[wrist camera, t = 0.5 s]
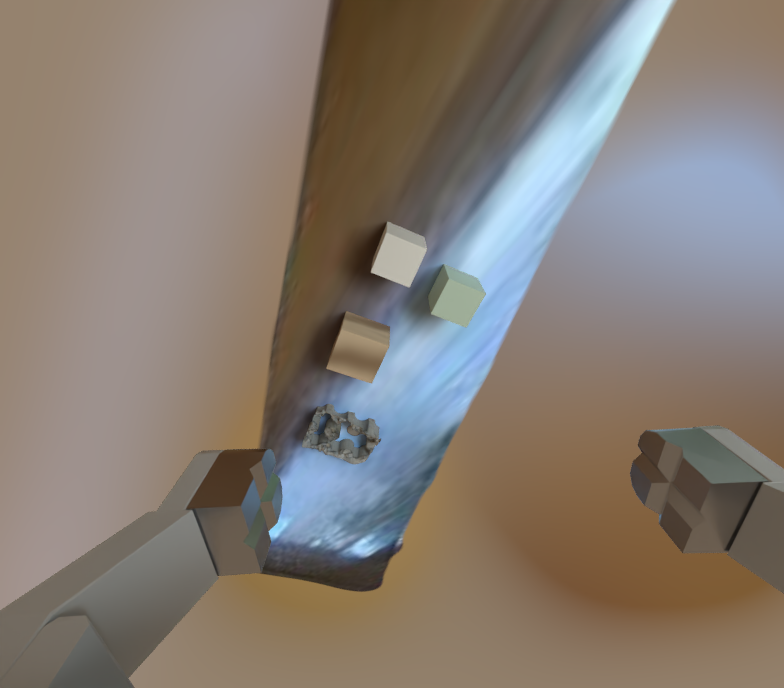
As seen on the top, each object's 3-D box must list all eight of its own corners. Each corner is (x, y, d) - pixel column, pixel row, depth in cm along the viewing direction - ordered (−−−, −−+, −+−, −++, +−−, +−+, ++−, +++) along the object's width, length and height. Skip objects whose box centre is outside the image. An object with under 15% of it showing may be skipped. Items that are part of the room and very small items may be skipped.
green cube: (443, 263, 43) (449, 278, 39) (477, 277, 44) (485, 293, 40) (427, 296, 45) (430, 313, 41) (459, 308, 46) (466, 327, 42)
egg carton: (385, 421, 56) (384, 441, 53) (364, 451, 60) (362, 472, 56) (321, 396, 54) (316, 415, 50) (303, 429, 57) (297, 449, 54)
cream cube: (387, 221, 41) (386, 232, 36) (424, 236, 41) (427, 249, 37) (373, 257, 43) (370, 272, 38) (408, 271, 44) (409, 287, 39)
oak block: (346, 310, 46) (341, 329, 42) (389, 326, 47) (389, 346, 43) (332, 347, 49) (326, 368, 45) (373, 361, 50) (371, 383, 46)
